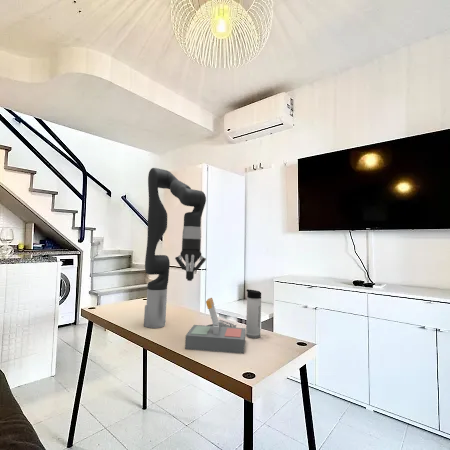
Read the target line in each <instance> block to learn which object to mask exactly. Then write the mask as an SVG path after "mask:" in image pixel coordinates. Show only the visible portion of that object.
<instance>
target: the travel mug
mask: <svg viewBox="0 0 450 450" xmlns="http://www.w3.org/2000/svg"><path fill="white" fill-rule="evenodd" d="M245 290H246V293H247V294H246V295H247V296H246V322H245V324H246V325H245V326H246V327H245V328H246V332H245V337H247V338H250V339H259V338H261V328H262V327H261V325H262V323H261V321H262V319H261V318H262V292H261V291H259V290H254V289H247V288H246V289H245Z"/></svg>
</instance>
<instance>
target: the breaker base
mask: <svg viewBox="0 0 450 450" xmlns="http://www.w3.org/2000/svg"><path fill="white" fill-rule="evenodd" d="M218 321H219V320H218ZM219 324H220V325H219V326H206V325H205V324H204V325H203V324H193V326H192V327H190V329H189V330H188V331H187V333H186V335H185V341H184V342H185V343H184V344H185V345H184V349H185V350H194V351H195V350H196V351H207V352H217V353H219V352H220V353H229V354H230V353H231V354H233V353H234V354H244V353H245V347H246V346H245V345H246V327H236V328H234V327H233V326H232V327H221V321H219Z"/></svg>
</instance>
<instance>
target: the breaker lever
mask: <svg viewBox="0 0 450 450" xmlns="http://www.w3.org/2000/svg"><path fill="white" fill-rule="evenodd" d="M205 303H206V307H207V309H208V312H209V315H210V319H211V322H212V324H213V326H219V325H220V324H219V318H218V315H217V312H216V308H215V303H214V300H213V297H209V298H208V299H207V300H205Z"/></svg>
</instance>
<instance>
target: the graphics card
mask: <svg viewBox="0 0 450 450" xmlns="http://www.w3.org/2000/svg"><path fill="white" fill-rule="evenodd" d="M218 321H221V327H234V328H237V324H234V323H231V322H228V321H225V320H223V319H218ZM205 326H213V323H212V324H206V325H205Z"/></svg>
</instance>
